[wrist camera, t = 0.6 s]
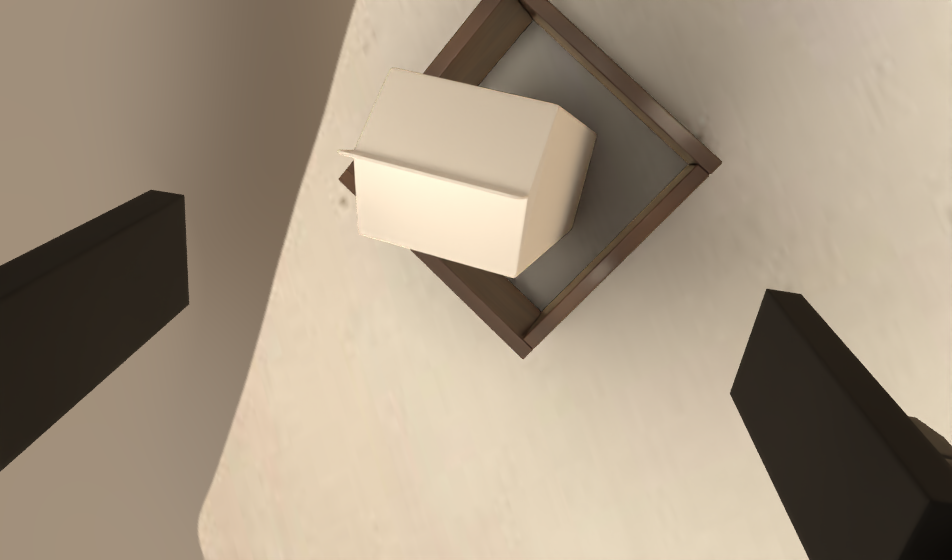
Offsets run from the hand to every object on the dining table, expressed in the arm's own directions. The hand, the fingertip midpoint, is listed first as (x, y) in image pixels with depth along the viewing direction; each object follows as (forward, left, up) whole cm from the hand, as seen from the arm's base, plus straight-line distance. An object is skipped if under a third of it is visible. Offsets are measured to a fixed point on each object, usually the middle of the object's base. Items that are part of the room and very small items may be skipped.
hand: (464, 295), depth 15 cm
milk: (0, -4, -27) cm, 27 cm away
